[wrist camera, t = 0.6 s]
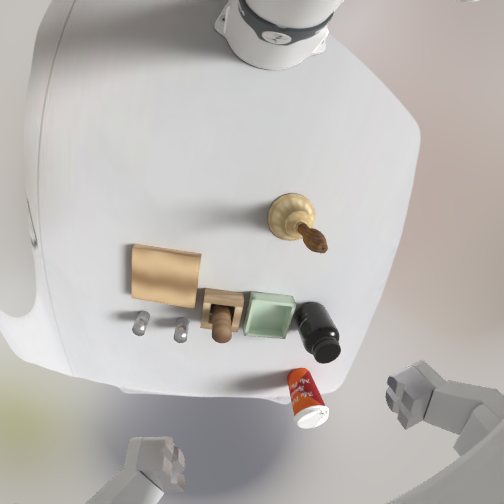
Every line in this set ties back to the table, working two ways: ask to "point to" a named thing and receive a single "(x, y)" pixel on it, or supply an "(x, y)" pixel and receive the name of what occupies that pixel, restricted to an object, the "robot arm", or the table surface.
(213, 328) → the dowel
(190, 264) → the curved tan panel
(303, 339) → the supplement bottle
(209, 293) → the socket block
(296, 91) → the table surface
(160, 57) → the table surface
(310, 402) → the paper cup
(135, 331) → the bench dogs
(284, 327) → the tray
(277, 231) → the hand bell
